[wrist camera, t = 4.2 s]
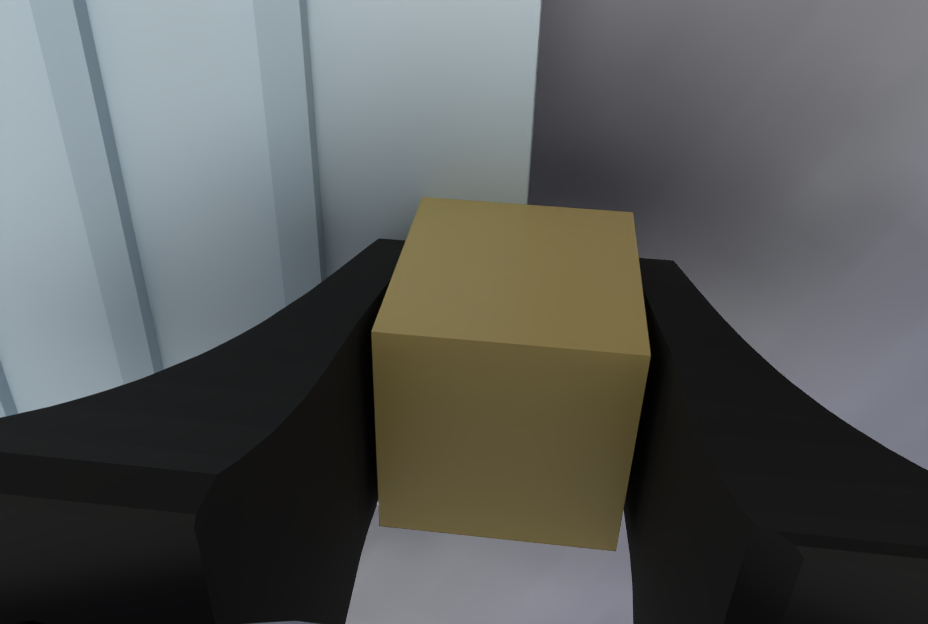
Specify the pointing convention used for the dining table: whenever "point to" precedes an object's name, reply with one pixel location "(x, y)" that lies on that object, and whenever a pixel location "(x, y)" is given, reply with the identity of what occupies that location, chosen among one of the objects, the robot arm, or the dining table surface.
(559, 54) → the dining table surface
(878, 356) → the dining table surface
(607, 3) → the dining table surface
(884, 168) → the dining table surface
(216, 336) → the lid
